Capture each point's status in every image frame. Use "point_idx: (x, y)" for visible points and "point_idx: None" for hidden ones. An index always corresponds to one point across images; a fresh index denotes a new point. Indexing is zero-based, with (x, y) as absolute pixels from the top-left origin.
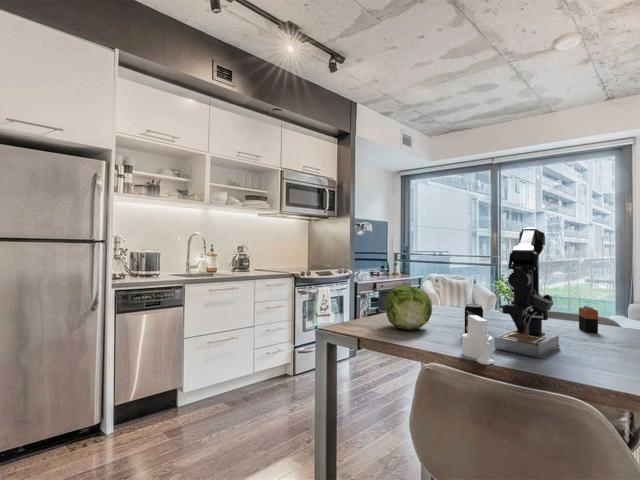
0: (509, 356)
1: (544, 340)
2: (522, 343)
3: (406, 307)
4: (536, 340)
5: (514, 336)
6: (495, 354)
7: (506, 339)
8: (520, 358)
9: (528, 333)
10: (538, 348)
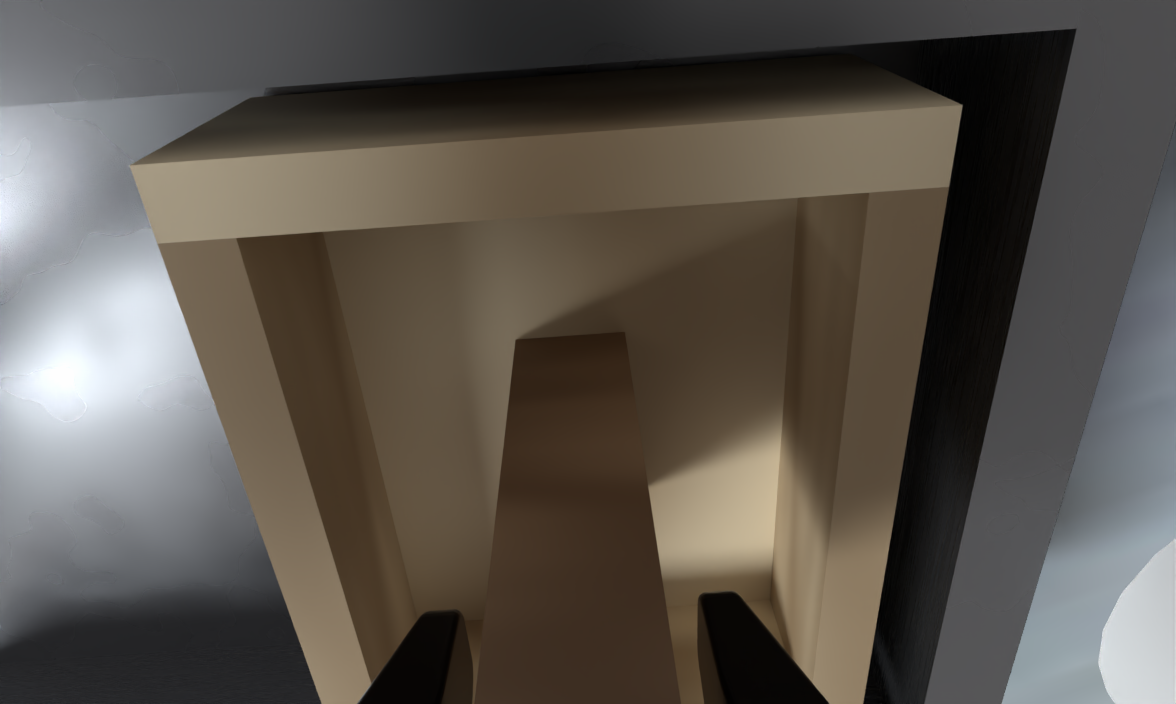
0: (1116, 340)
1: (377, 29)
2: (1084, 332)
3: None
4: (646, 184)
5: None
6: (1126, 502)
7: (1014, 639)
8: None
9: (520, 522)
10: None
